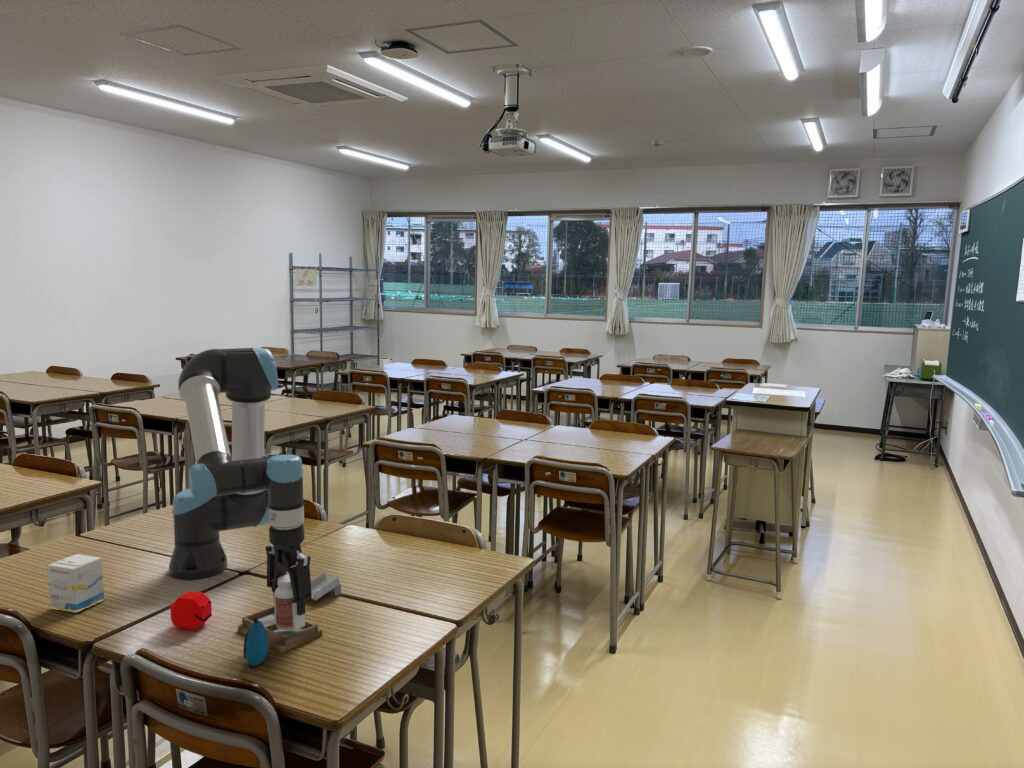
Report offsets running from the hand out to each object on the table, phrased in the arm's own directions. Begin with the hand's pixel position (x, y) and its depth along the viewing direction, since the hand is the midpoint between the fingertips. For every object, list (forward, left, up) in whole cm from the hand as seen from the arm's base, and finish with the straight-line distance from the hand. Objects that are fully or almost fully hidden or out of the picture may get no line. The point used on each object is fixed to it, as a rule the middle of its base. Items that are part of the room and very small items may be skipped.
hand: (289, 622), depth 163 cm
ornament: (+4, -11, -4) cm, 12 cm away
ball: (-23, -11, -4) cm, 26 cm away
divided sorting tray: (-4, 0, -4) cm, 5 cm away
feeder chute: (-13, +18, -4) cm, 23 cm away
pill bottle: (0, 0, -1) cm, 1 cm away
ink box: (-56, -23, -4) cm, 61 cm away
